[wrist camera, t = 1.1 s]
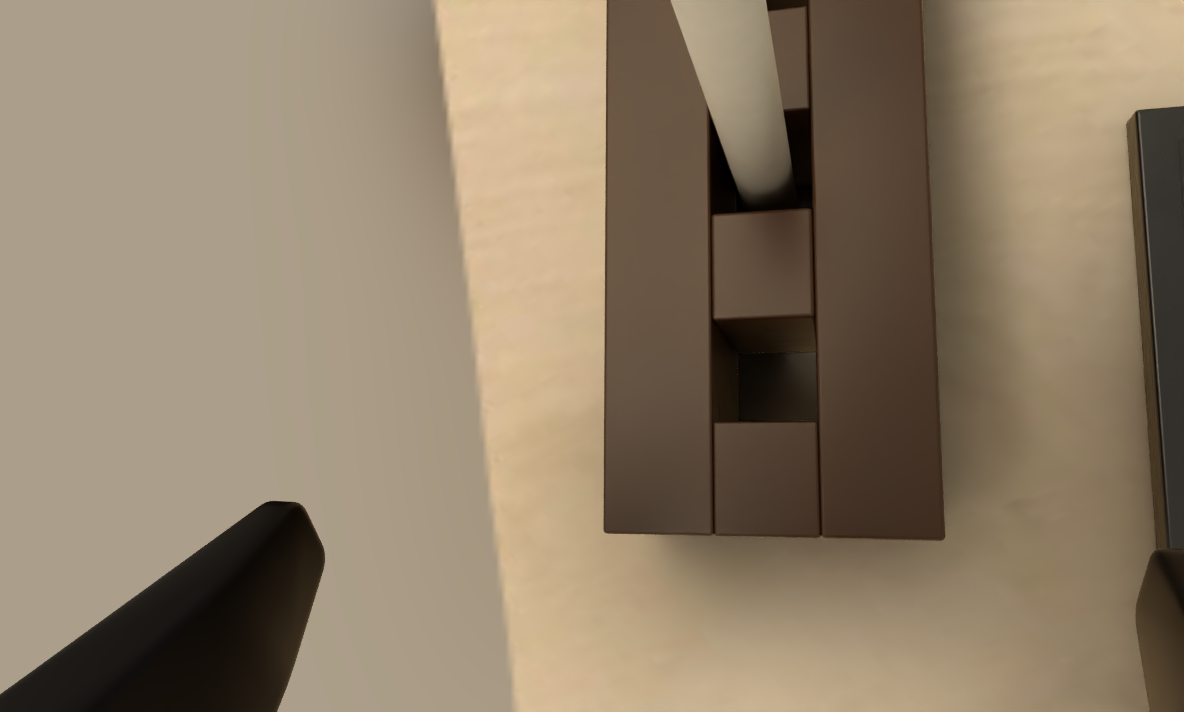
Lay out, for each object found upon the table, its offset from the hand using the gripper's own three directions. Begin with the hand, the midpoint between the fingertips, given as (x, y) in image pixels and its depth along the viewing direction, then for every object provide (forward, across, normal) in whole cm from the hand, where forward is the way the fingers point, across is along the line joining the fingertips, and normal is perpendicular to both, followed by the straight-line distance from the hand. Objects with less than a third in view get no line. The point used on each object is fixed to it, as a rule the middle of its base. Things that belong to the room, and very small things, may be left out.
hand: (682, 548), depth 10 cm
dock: (+14, 0, +4) cm, 15 cm away
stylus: (+14, 0, +4) cm, 15 cm away
